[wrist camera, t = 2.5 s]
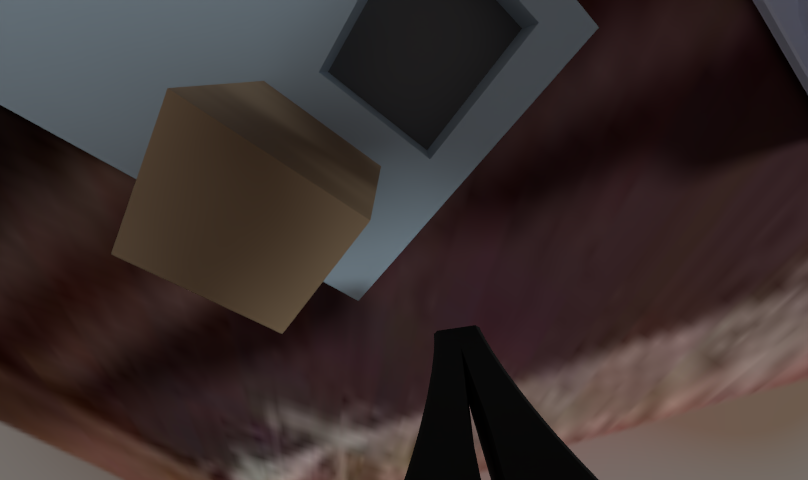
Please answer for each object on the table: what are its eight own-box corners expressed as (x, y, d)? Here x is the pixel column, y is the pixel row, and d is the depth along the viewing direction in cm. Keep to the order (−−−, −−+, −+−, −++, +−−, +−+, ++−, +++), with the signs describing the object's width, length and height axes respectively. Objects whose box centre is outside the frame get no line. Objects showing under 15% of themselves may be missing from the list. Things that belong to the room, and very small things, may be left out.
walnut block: (381, 166, 11) (370, 220, 7) (319, 251, 13) (282, 333, 9) (263, 80, 9) (167, 88, 6) (212, 189, 11) (111, 254, 7)
